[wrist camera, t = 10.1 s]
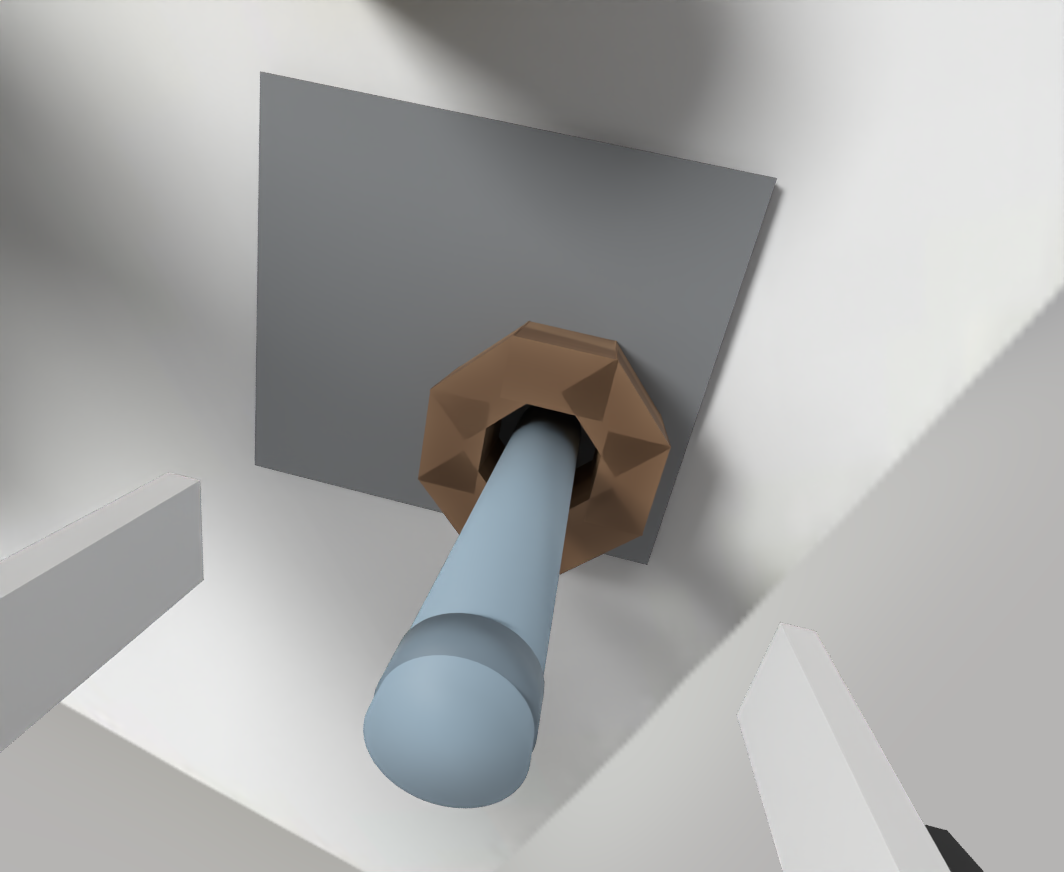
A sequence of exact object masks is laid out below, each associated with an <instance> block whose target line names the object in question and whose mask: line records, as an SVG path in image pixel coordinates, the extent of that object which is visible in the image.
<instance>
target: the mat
mask: <svg viewBox="0 0 1064 872" xmlns="http://www.w3.org/2000/svg"><path fill="white" fill-rule="evenodd" d="M776 180H777V178H774V177H769V176H764V175H759V174H754V173H749V172H745V171H740V170H735V169H730V168H725V167H720V166H715V165H711V164H706V163H701V162H696V161H691V160H686V159H682V158H677V157H672V156H667V155H662V154H657V153H653V152H648V151H643V150H638V149H633V148H628V147H624V146H619V145H614V144H609V143H604V142H599V141H594V140H590V139H585V138H580V137H575V136H570V135H565V134H561V133H556V132H551V131H546V130H541V129H536V128H532V127H527V126H522V125H517V124H512V123H507V122H503V121H498V120H493V119H488V118H483V117H478V116H473V115H469V114H464V113H459V112H454V111H449V110H444V109H440V108H435V107H430V106H425V105H420V104H415V103H411V102H406V101H401V100H396V99H391V98H386V97H382V96H377V95H372V94H367V93H362V92H357V91H352V90H348V89H343V88H338V87H333V86H328V85H323V84H319V83H314V82H309V81H304V80H299V79H294V78H290V77H285V76H280V75H275V74H270V73H265V72H261V71H260V125H259V198H258V271H257V343H256V416H255V465H257V466H261V467H265V468H269V469H273V470H276V471H280V472H284V473H288V474H292V475H296V476H300V477H304V478H308V479H312V480H316V481H320V482H324V483H328V484H332V485H335V486H339V487H343V488H347V489H351V490H355V491H359V492H363V493H367V494H371V495H375V496H379V497H383V498H387V499H391V500H394V501H398V502H402V503H406V504H410V505H414V506H418V507H422V508H426V509H430V510H434V511H438V512H442V511H441V509H440V508H439V507H438V505H437V504H436V503H435V501H434V500H433V499H432V497H431V496H430V495H429V493H428V492H427V491H426V489H425V488H424V486H423V485H422V484H421V482H420V481H419V480H418V475H419V468H420V461H421V453H422V446H423V439H424V432H425V425H426V417H427V410H428V403H429V396H430V389H431V388H432V387H433V386H435V385H436V384H437V383H439V382H440V381H441V380H442V379H444V378H445V377H446V376H448V375H449V374H450V373H451V372H453V371H454V370H455V369H457V368H458V367H459V366H462V365H463V364H465V363H466V362H468V361H469V360H471V359H472V358H474V357H475V356H477V355H478V354H480V353H481V352H483V351H484V350H486V349H487V348H489V347H491V346H492V345H494V344H495V343H497V342H498V341H500V340H501V339H503V338H504V337H506V336H507V335H509V334H510V333H512V332H513V331H515V330H516V329H518V328H519V327H521V326H522V325H524V324H525V323H526V322H528V321H531V322H535V323H540V324H544V325H549V326H553V327H557V328H562V329H566V330H570V331H575V332H579V333H583V334H588V335H592V336H596V337H601V338H605V339H610V340H614V341H615V340H616V341H617V343H618V345H619V347H620V348H621V350H622V352H623V353H624V355H625V357H626V358H627V360H628V362H629V363H630V365H631V367H632V368H633V370H634V372H635V373H636V375H637V377H638V378H639V380H640V382H641V383H642V385H643V386H644V388H645V390H646V391H647V393H648V395H649V396H650V398H651V400H652V401H653V403H654V405H655V406H656V408H657V410H658V411H659V413H660V414H661V417H662V420H663V423H664V426H665V429H666V432H667V436H668V439H669V442H670V445H671V449H670V451H669V454H668V457H667V460H666V463H665V466H664V469H663V472H662V475H661V479H660V482H659V485H658V488H657V491H656V494H655V497H654V500H653V503H652V506H651V509H650V512H649V516H648V519H647V522H646V525H645V528H644V531H643V535H642V536H639V537H637V538H635V539H633V540H631V541H629V542H627V543H625V544H623V545H621V546H619V547H616V548H614V549H612V550H610V551H608V552H606V553H604V554H607V555H611V556H615V557H619V558H623V559H627V560H630V561H634V562H638V563H642V564H646V565H647V564H648V561H649V558H650V555H651V552H652V549H653V546H654V543H655V540H656V537H657V534H658V531H659V528H660V525H661V522H662V519H663V516H664V513H665V510H666V507H667V504H668V501H669V498H670V495H671V492H672V489H673V486H674V483H675V480H676V477H677V474H678V471H679V468H680V466H681V463H682V460H683V457H684V454H685V451H686V448H687V445H688V442H689V439H690V436H691V433H692V430H693V427H694V424H695V421H696V418H697V415H698V412H699V409H700V406H701V403H702V400H703V397H704V394H705V391H706V388H707V385H708V382H709V379H710V376H711V373H712V370H713V367H714V364H715V361H716V359H717V356H718V353H719V350H720V347H721V344H722V341H723V338H724V335H725V332H726V329H727V326H728V323H729V320H730V317H731V314H732V311H733V308H734V305H735V302H736V299H737V296H738V293H739V290H740V287H741V284H742V281H743V278H744V275H745V272H746V269H747V266H748V263H749V260H750V257H751V254H752V251H753V249H754V246H755V243H756V240H757V237H758V234H759V231H760V228H761V225H762V222H763V219H764V216H765V213H766V210H767V207H768V204H769V201H770V198H771V195H772V192H773V189H774V186H775V183H776ZM530 406H531V405H530V404H525V405H523V406H522V407H520V408H518V409H517V410H515V411H513V412H512V413H510V414H508V415H507V416H505V417H503V418H502V422H501V427H500V432H499V438H500V440H501V441H502V443H503V444H504V446H505V447H506V445H507V443H508V442H509V440H510V438H511V436H512V434H513V432H514V430H515V428H516V426H517V424H518V423H519V421H520V419H521V417H522V415H523V413H524V412H525V411H526V410H527V409H528V408H529V407H530ZM580 426H581V436H580V442H579V449H578V455H577V462H576V468H575V469H577V468H578V467H580V466H582V465H584V464H586V463H588V462H590V461H591V460H593V457H594V453H595V449H596V447H595V445H594V444H593V442H592V441H591V439H590V437H589V436H588V434H587V433H586V431H585V430H584V428H583V427H582V425H581V423H580ZM442 513H443V512H442Z"/></svg>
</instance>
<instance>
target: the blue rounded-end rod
mask: <svg viewBox="0 0 1064 872" xmlns="http://www.w3.org/2000/svg"><path fill="white" fill-rule="evenodd" d="M580 436H581V426H580V422H579V420H578V419H577V417H576V416H575V415H571V414H567V413H563V412H559V411H555V410H551V409H546V408H542V407H538V406H534V405H531V406H530V407H529V408H528V409H527V410H526V411H525V412H524V413H523V415H522V417H521V419H520V421H519V423H518V424H517V426H516V428H515V430H514V432H513V434H512V436H511V438H510V440H509V442H508V443H507V445H506V447H505V449H504V451H503V453H502V455H501V457H500V459H499V461H498V463H497V464H496V466H495V468H494V470H493V472H492V474H491V476H490V478H489V480H488V482H487V483H486V485H485V487H484V489H483V491H482V493H481V495H480V497H479V499H478V501H477V502H476V504H475V506H474V508H473V510H472V512H471V514H470V516H469V518H468V520H467V522H466V523H465V525H464V527H463V529H462V531H461V533H460V535H459V537H458V539H457V541H456V542H455V544H454V546H453V548H452V550H451V552H450V554H449V556H448V558H447V560H446V561H445V563H444V565H443V567H442V569H441V571H440V573H439V575H438V577H437V579H436V581H435V582H434V584H433V586H432V588H431V590H430V592H429V594H428V596H427V598H426V600H425V601H424V603H423V605H422V607H421V609H420V611H419V613H418V615H417V617H416V619H415V620H414V622H413V624H412V626H411V628H410V630H409V631H408V632H407V633H406V634H405V635H404V637H403V638H402V640H401V642H400V643H399V645H398V647H397V649H396V651H395V653H394V655H393V656H392V658H391V660H390V662H389V664H388V666H387V668H386V670H385V671H384V673H383V675H382V677H381V679H380V681H379V683H378V685H377V687H376V690H375V694H374V699H373V700H372V702H371V704H370V706H369V708H368V710H367V713H366V715H365V720H364V728H363V733H364V740H365V743H366V747H367V749H368V752H369V754H370V756H371V758H372V759H373V761H374V763H375V764H376V765H377V767H378V768H379V769H380V770H381V772H382V773H383V774H384V775H385V776H386V777H387V778H388V779H389V780H391V781H392V782H393V783H394V784H395V785H397V786H398V787H400V788H401V789H403V790H404V791H406V792H408V793H409V794H411V795H413V796H415V797H417V798H420V799H422V800H424V801H427V802H430V803H433V804H437V805H441V806H446V807H453V808H477V807H483V806H487V805H491V804H494V803H497V802H499V801H502V800H503V799H505V798H507V797H508V796H510V795H511V794H512V793H514V792H515V791H516V790H517V789H518V788H519V787H520V786H521V784H522V783H523V781H524V780H525V778H526V776H527V773H528V770H529V766H530V760H531V754H532V752H533V749H534V747H535V744H536V740H537V734H538V727H539V721H540V714H541V707H542V700H543V694H544V669H545V663H546V656H547V650H548V643H549V637H550V630H551V624H552V617H553V611H554V604H555V598H556V591H557V585H558V578H559V572H560V566H561V559H562V553H563V546H564V540H565V533H566V527H567V520H568V514H569V507H570V501H571V494H572V488H573V481H574V475H575V468H576V462H577V455H578V449H579V442H580Z"/></svg>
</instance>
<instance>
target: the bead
mask: <svg viewBox="0 0 1064 872" xmlns="http://www.w3.org/2000/svg"><path fill="white" fill-rule="evenodd" d="M525 404H530V405H534V406H538V407H542V408H546V409H551V410H555V411H559V412H563V413H567V414H571V415H575V416H576V417H577V419H578V420H579V422H580V423H581V425H582V427H583V428H584V430H585V431H586V433H587V434H588V436H589V437H590V439H591V441H592V442H593V444H594V445H595V447H596V449H595V453H594V457H593V460H591V461H590V462H588V463H586V464H584V465H582V466H580V467H578V468H577V469H575V475H574V481H573V488H572V494H571V501H570V507H569V514H568V520H567V527H566V533H565V540H564V546H563V553H562V559H561V566H560V572H559V575H560V574H562V573H564V572H566V571H568V570H570V569H572V568H575V567H577V566H579V565H581V564H583V563H585V562H587V561H589V560H591V559H593V558H595V557H598V556H600V555H602V554H604V553H606V552H608V551H610V550H612V549H614V548H616V547H619V546H621V545H623V544H625V543H627V542H629V541H631V540H633V539H635V538H637V537H639V536H642V535H643V531H644V528H645V525H646V522H647V519H648V516H649V512H650V509H651V506H652V503H653V500H654V497H655V494H656V491H657V488H658V485H659V482H660V479H661V475H662V472H663V469H664V466H665V463H666V460H667V457H668V454H669V451H670V449H671V445H670V442H669V439H668V436H667V432H666V429H665V426H664V423H663V420H662V417H661V414H660V413H659V411H658V410H657V408H656V406H655V405H654V403H653V401H652V400H651V398H650V396H649V395H648V393H647V391H646V390H645V388H644V386H643V385H642V383H641V382H640V380H639V378H638V377H637V375H636V373H635V372H634V370H633V368H632V367H631V365H630V363H629V362H628V360H627V358H626V357H625V355H624V353H623V352H622V350H621V348H620V347H619V345H618V343H617V341H616V340H615V341H614V340H610V339H605V338H601V337H596V336H592V335H588V334H583V333H579V332H575V331H570V330H566V329H562V328H557V327H553V326H549V325H544V324H540V323H535V322H531V321H528V322H526V323H525V324H524V325H522V326H521V327H519V328H518V329H516V330H515V331H513V332H512V333H510V334H509V335H507V336H506V337H504V338H503V339H501V340H500V341H498V342H497V343H495V344H494V345H492V346H491V347H489V348H487V349H486V350H484V351H483V352H481V353H480V354H478V355H477V356H475V357H474V358H472V359H471V360H469V361H468V362H466V363H465V364H463V365H462V366H459V367H458V368H457V369H455V370H454V371H453V372H451V373H450V374H449V375H448V376H446V377H445V378H444V379H442V380H441V381H440V382H439V383H437V384H436V385H435V386H433V387H432V388H431V389H430V396H429V403H428V410H427V417H426V425H425V432H424V439H423V446H422V453H421V461H420V468H419V475H418V480H419V481H420V482H421V484H422V485H423V486H424V488H425V489H426V491H427V492H428V493H429V495H430V496H431V497H432V499H433V500H434V501H435V503H436V504H437V505H438V507H439V508H440V509H441V511H442V512H443V513H444V515H445V516H446V517H447V519H448V520H449V522H450V523H451V524H452V526H453V527H454V528H455V530H456V531H457V532H458V534H459V535H460V533H461V531H462V529H463V527H464V525H465V523H466V522H467V520H468V518H469V516H470V514H471V512H472V510H473V508H474V506H475V504H476V502H477V501H478V499H479V497H480V495H481V493H482V491H483V489H484V487H485V485H486V483H487V482H488V480H489V478H490V476H491V474H492V472H493V470H494V468H495V466H496V464H497V463H498V461H499V459H500V457H501V455H502V453H503V451H504V449H505V446H504V444H503V443H502V441H501V440H500V438H499V432H500V427H501V422H502V418H503V417H505V416H507V415H508V414H510V413H512V412H513V411H515V410H517V409H518V408H520V407H522V406H523V405H525Z"/></svg>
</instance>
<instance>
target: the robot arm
mask: <svg viewBox="0 0 1064 872" xmlns="http://www.w3.org/2000/svg"><path fill="white" fill-rule="evenodd" d="M203 580H204V577H203V547H202V517H201V487H200V480H198V479H194V478H190V477H186V476H182V475H177V474H173V473H169V472H167V473H166V474H164V475H162V476H160V477H158V478H156V479H154V480H152V481H150V482H149V483H147V484H145V485H143V486H141V487H139V488H137V489H135V490H134V491H132V492H130V493H128V494H126V495H124V496H122V497H120V498H118V499H117V500H115V501H113V502H111V503H109V504H107V505H105V506H103V507H101V508H100V509H98V510H96V511H94V512H92V513H90V514H88V515H86V516H84V517H83V518H81V519H79V520H77V521H75V522H73V523H71V524H69V525H68V526H66V527H64V528H62V529H60V530H58V531H56V532H54V533H52V534H51V535H49V536H47V537H45V538H43V539H41V540H39V541H37V542H35V543H34V544H32V545H30V546H28V547H26V548H24V549H22V550H20V551H18V552H17V553H15V554H13V555H11V556H9V557H7V558H5V559H3V560H1V561H0V753H1V752H2V751H3V750H4V749H5V748H6V747H8V746H9V745H10V744H11V743H12V742H13V741H14V740H16V739H17V738H18V737H19V736H21V735H22V734H23V733H24V732H25V731H26V730H27V729H29V728H30V727H31V726H32V725H33V724H35V723H36V722H37V721H38V720H39V719H41V718H42V717H43V716H44V715H45V714H46V713H48V712H49V711H50V710H51V709H52V708H53V707H54V706H56V705H57V704H58V703H59V702H61V701H62V700H63V699H64V698H65V697H66V696H68V695H69V694H70V693H71V692H72V691H73V690H75V689H76V688H77V687H78V686H79V685H81V684H82V683H83V682H84V681H85V680H86V679H88V678H89V677H90V676H91V675H92V674H93V673H95V672H96V671H97V670H98V669H99V668H101V667H102V666H103V665H104V664H105V663H106V662H108V661H109V660H110V659H111V658H112V657H113V656H115V655H116V654H117V653H118V652H119V651H121V650H122V649H123V648H124V647H125V646H126V645H128V644H129V643H130V642H131V641H132V640H133V639H135V638H136V637H137V636H138V635H139V634H140V633H142V632H143V631H144V630H145V629H146V628H148V627H149V626H150V625H151V624H152V623H153V622H155V621H156V620H157V619H158V618H159V617H160V616H162V615H163V614H164V613H165V612H166V611H168V610H169V609H170V608H171V607H172V606H173V605H175V604H176V603H177V602H178V601H179V600H180V599H182V598H183V597H184V596H185V595H186V594H188V593H189V592H190V591H191V590H192V589H193V588H195V587H196V586H197V585H198V584H199V583H200V582H202V581H203ZM737 718H738V721H739V725H740V728H741V732H742V735H743V739H744V742H745V745H746V749H747V752H748V756H749V759H750V763H751V766H752V769H753V773H754V776H755V780H756V783H757V787H758V790H759V793H760V797H761V800H762V804H763V807H764V810H765V814H766V817H767V820H768V824H769V828H770V831H771V834H772V838H773V841H774V845H775V848H776V852H777V855H778V858H779V861H780V865H781V869H782V872H983V870H982V869H981V868H980V867H979V866H978V865H977V864H976V862H975V861H974V860H973V859H972V858H971V857H970V856H969V855H968V853H967V852H966V851H965V850H964V849H963V848H962V847H961V846H960V844H958V842H957V841H956V840H955V839H954V838H953V837H952V835H951V834H950V833H949V832H948V831H947V830H943V829H939V828H935V827H932V826H928V825H924V823H923V821H922V820H921V818H920V816H919V815H918V813H917V811H916V809H915V807H914V805H913V804H912V802H911V800H910V798H909V796H908V795H907V793H906V791H905V789H904V787H903V786H902V784H901V782H900V780H899V779H898V777H897V775H896V773H895V771H894V770H893V768H892V766H891V765H890V762H889V761H888V759H887V757H886V755H885V754H884V752H883V750H882V749H881V746H880V745H879V743H878V741H877V740H876V738H875V736H874V734H873V732H872V730H871V729H870V727H869V725H868V723H867V721H866V720H865V718H864V716H863V714H862V712H861V711H860V709H859V707H858V705H857V704H856V702H855V700H854V699H853V696H852V695H851V693H850V691H849V689H848V687H847V686H846V684H845V682H844V680H843V679H842V677H841V675H840V673H839V671H838V670H837V668H836V666H835V664H834V662H833V661H832V659H831V657H830V655H829V654H828V652H827V650H826V648H825V647H824V645H823V643H822V641H821V639H820V637H819V636H818V634H817V632H816V631H814V630H810V629H806V628H802V627H798V626H793V625H789V624H786V623H781V622H780V624H779V626H778V628H777V630H776V632H775V635H774V637H773V639H772V641H771V643H770V645H769V647H768V649H767V651H766V654H765V656H764V658H763V660H762V662H761V664H760V666H759V668H758V670H757V673H756V675H755V677H754V679H753V681H752V683H751V685H750V687H749V689H748V692H747V694H746V696H745V698H744V700H743V702H742V704H741V707H740V708H739V711H738V713H737Z"/></svg>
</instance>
